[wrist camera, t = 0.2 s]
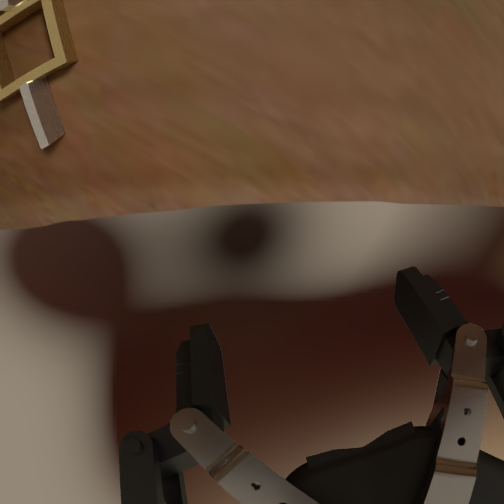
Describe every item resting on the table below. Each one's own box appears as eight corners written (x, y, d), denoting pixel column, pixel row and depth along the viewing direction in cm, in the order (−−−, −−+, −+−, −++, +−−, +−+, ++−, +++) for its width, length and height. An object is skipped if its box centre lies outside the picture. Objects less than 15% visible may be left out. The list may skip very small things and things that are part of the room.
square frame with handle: (-14, -15, 17) (-34, -17, 13) (52, -57, 17) (35, -66, 13) (30, 150, 32) (13, 164, 28) (96, 119, 32) (83, 129, 28)
